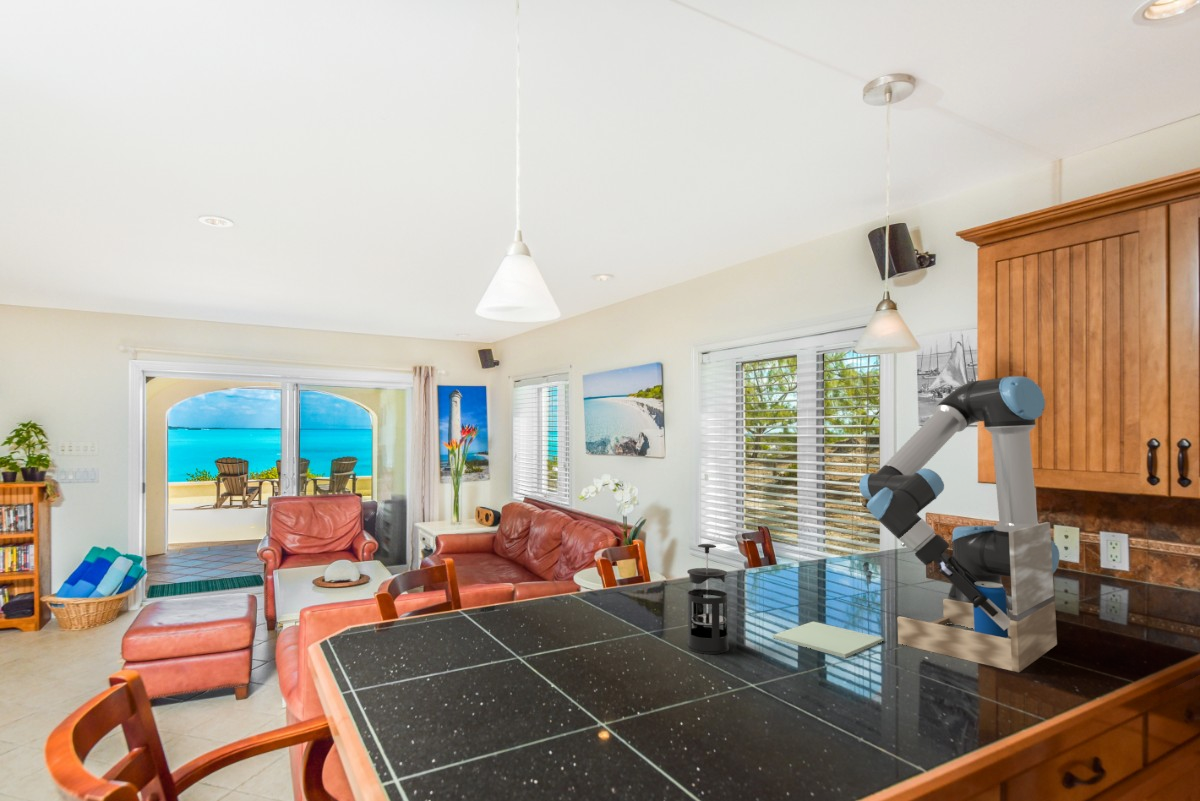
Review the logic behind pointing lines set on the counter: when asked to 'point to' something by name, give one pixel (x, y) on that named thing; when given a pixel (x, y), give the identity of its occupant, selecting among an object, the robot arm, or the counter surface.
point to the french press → (700, 636)
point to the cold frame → (1027, 619)
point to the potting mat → (828, 639)
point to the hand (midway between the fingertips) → (1009, 622)
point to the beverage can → (981, 618)
